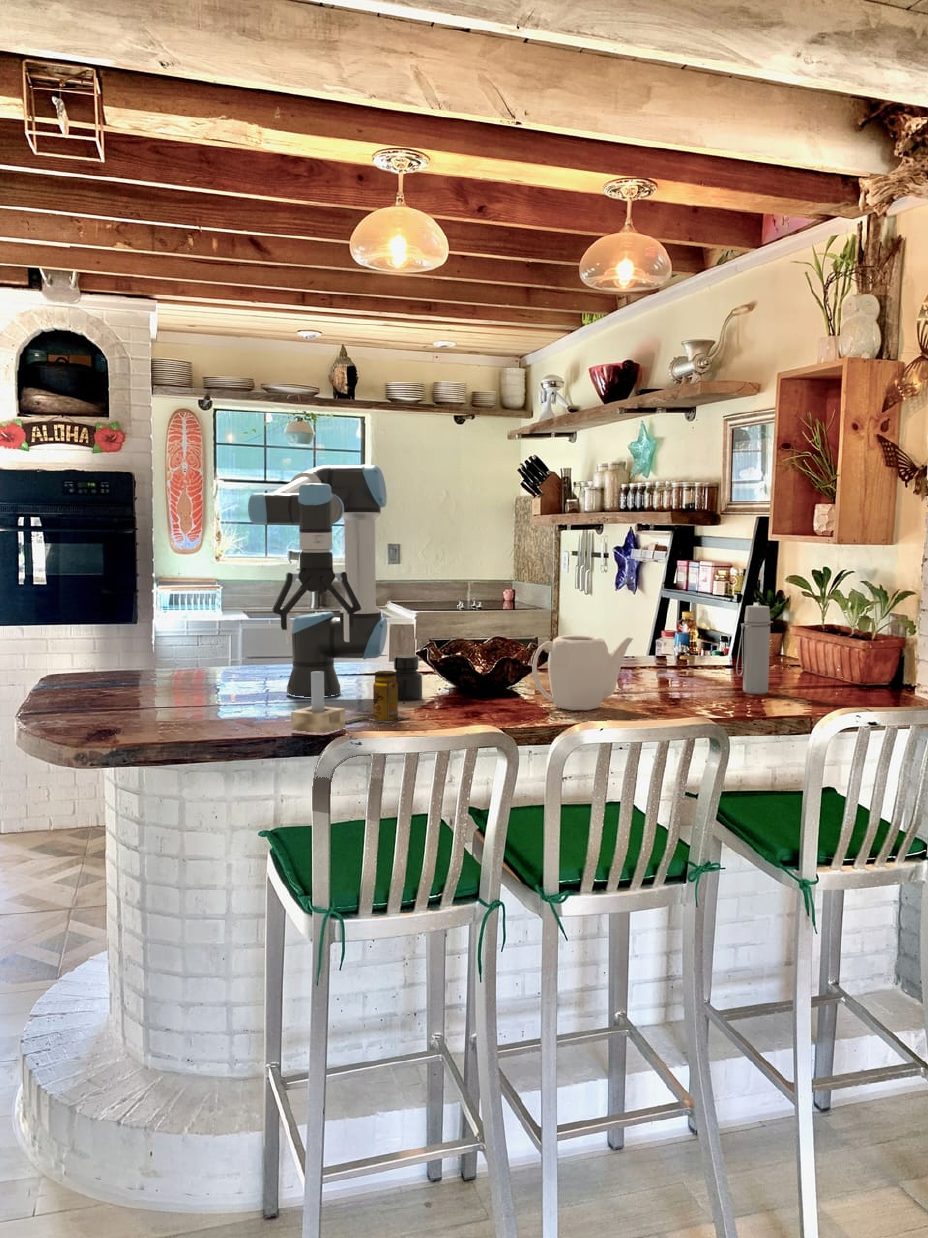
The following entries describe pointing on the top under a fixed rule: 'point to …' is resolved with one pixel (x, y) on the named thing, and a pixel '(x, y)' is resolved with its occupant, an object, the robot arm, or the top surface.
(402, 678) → the ink bottle
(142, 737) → the top surface
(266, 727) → the top surface
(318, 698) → the white peg
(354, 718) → the lace
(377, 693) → the condiment
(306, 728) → the tan hollow square block
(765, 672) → the water bottle
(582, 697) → the watering can
